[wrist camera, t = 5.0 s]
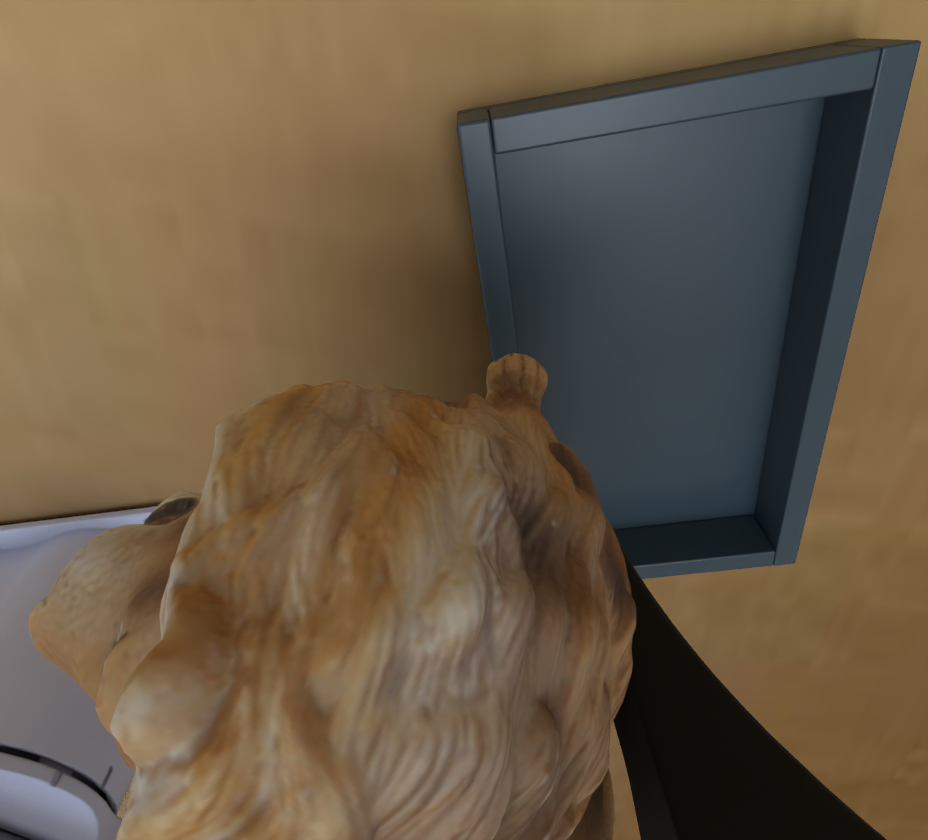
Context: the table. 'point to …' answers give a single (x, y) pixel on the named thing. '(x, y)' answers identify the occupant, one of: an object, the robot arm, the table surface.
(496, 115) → the tray
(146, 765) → the lion figurine
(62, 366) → the table surface
